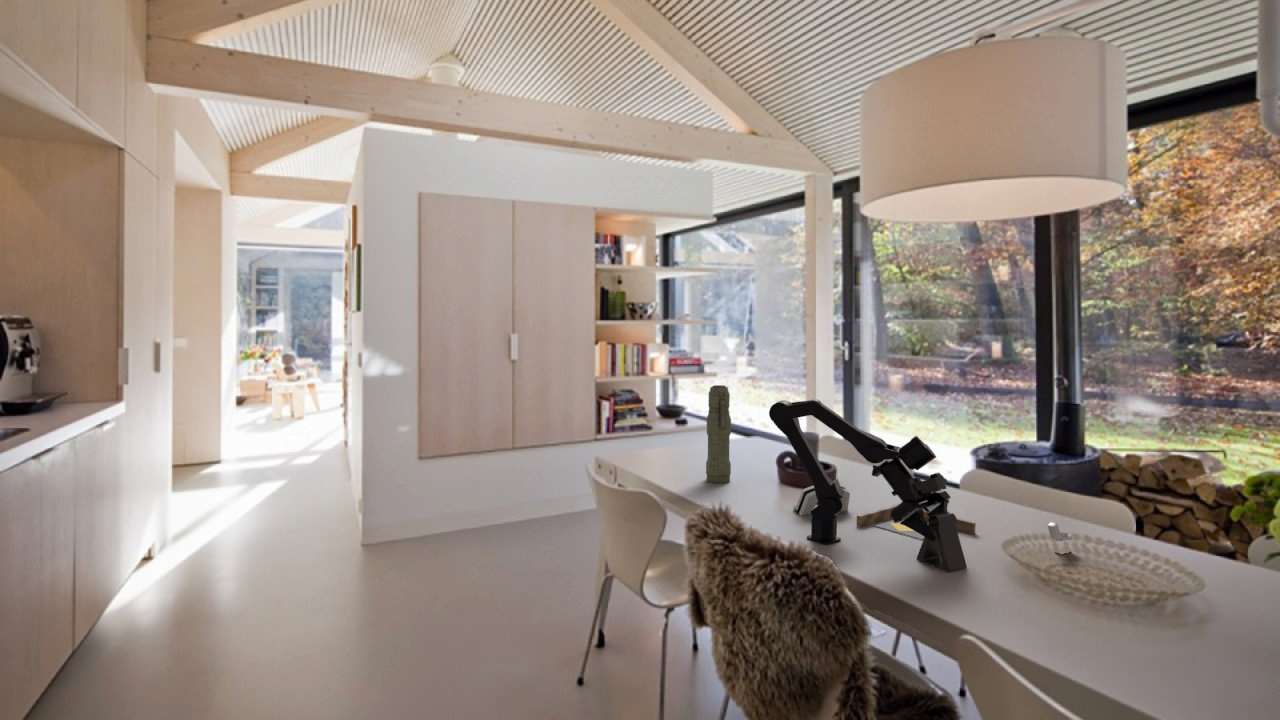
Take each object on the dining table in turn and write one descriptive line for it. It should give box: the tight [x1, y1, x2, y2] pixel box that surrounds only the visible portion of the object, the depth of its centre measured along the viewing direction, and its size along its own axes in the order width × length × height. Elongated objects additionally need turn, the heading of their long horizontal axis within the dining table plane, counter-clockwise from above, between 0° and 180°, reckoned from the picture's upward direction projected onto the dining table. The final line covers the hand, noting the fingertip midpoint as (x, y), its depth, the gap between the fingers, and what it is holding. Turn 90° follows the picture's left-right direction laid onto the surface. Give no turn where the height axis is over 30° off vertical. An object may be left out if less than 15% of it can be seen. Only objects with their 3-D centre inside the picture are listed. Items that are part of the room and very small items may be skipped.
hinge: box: [792, 484, 851, 516], centre depth 190 cm, size 17×5×10 cm, turn 108°
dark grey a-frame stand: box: [916, 511, 968, 573], centre depth 147 cm, size 9×6×12 cm, turn 26°
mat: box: [874, 520, 929, 541], centre depth 174 cm, size 14×14×1 cm
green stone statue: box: [705, 384, 732, 484], centre depth 228 cm, size 9×12×35 cm
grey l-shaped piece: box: [1047, 522, 1073, 541], centre depth 155 cm, size 7×2×8 cm, turn 113°
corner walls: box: [856, 503, 977, 535], centre depth 173 cm, size 21×23×3 cm
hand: (944, 536), depth 147 cm, fingers open, 8 cm apart
